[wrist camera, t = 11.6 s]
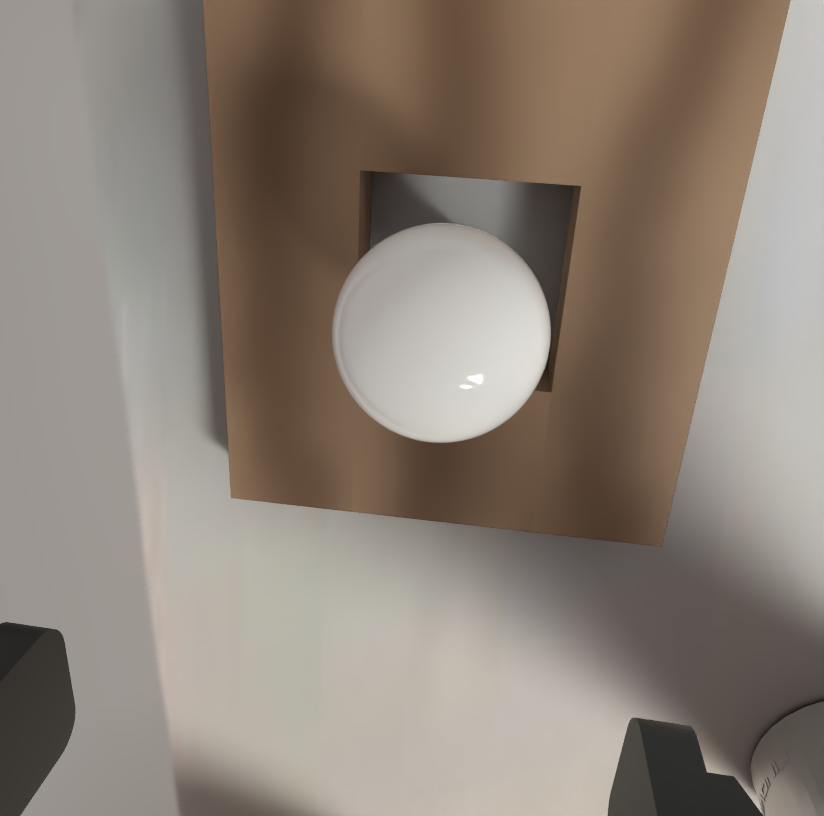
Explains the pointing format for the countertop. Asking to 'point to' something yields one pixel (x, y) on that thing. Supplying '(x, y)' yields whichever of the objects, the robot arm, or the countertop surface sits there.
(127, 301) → the countertop surface
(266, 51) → the holder block
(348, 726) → the countertop surface
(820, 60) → the countertop surface
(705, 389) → the countertop surface
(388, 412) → the lightbulb
